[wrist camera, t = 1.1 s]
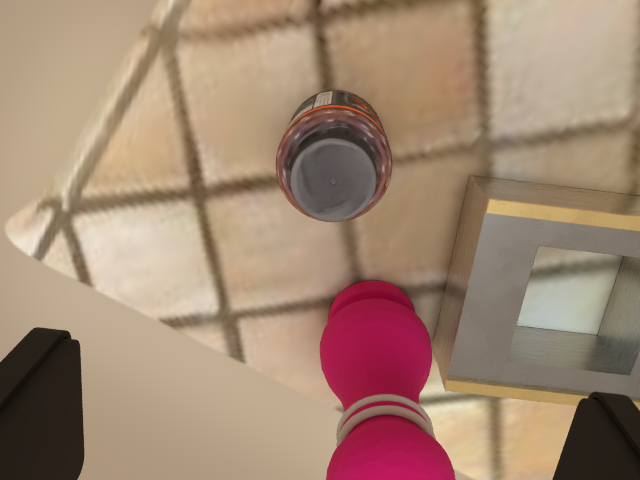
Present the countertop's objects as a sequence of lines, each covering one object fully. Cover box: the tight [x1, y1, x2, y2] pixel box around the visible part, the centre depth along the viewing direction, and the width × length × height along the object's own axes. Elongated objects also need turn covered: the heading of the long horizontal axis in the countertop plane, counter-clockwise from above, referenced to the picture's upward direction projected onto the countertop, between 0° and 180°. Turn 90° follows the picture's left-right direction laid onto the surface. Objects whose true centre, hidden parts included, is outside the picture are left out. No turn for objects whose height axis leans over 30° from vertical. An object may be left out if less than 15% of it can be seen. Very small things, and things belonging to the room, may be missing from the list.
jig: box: [433, 175, 640, 410], centre depth 38 cm, size 15×13×5 cm
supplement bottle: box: [276, 90, 392, 222], centre depth 32 cm, size 6×6×11 cm
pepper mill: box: [320, 281, 455, 480], centre depth 32 cm, size 7×7×20 cm
